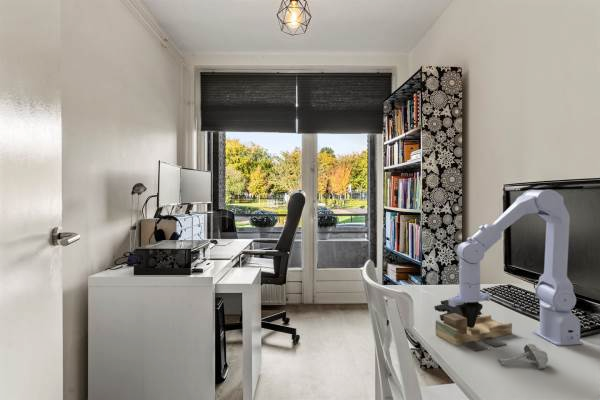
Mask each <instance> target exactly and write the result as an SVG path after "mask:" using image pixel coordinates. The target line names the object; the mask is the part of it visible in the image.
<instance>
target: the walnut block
mask: <svg viewBox="0 0 600 400" xmlns="http://www.w3.org/2000/svg"><path fill="white" fill-rule="evenodd" d="M443 323H445V324H447V325H449V326H451V327H453V328H455V329H457V330H458V333H461V334H466V333H467V318H465V317H463V316H461V315H458V314H456V313H454V314H448V315H444V320H443Z"/></svg>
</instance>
